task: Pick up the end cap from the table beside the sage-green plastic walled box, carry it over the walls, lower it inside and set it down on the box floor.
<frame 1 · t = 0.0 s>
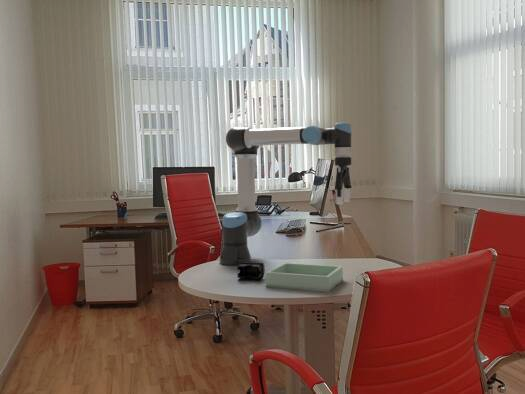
hand: (343, 203, 233), 28 cm above the table, fingers open, 13 cm apart
end cap: (250, 280, 204), on the table
walled box: (305, 283, 195), on the table
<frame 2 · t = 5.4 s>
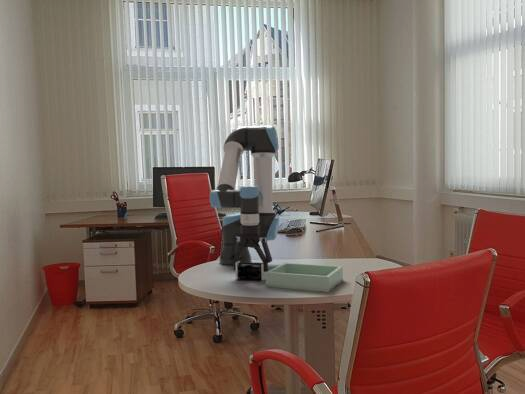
hand: (250, 278, 204), 0 cm above the table, fingers open, 11 cm apart
end cap: (250, 280, 204), on the table, touching gripper
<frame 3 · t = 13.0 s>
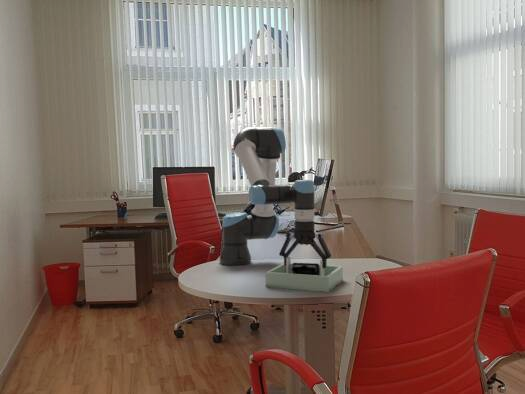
hand: (305, 275, 195), 3 cm above the table, fingers open, 13 cm apart
end cap: (305, 281, 195), point 1 cm above the table, touching walled box
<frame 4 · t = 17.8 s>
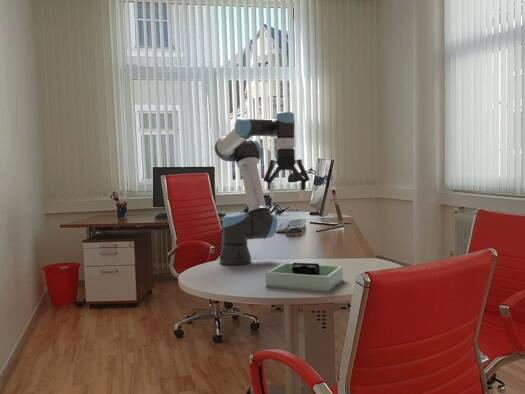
hand: (286, 197, 218), 32 cm above the table, fingers open, 13 cm apart
nothing on the table moved.
at the end: end cap inside the target area on the walled box (0.1 cm from its centre), point 0.8 cm above the walled box's base; end cap touching walled box; the gripper is holding nothing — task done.
